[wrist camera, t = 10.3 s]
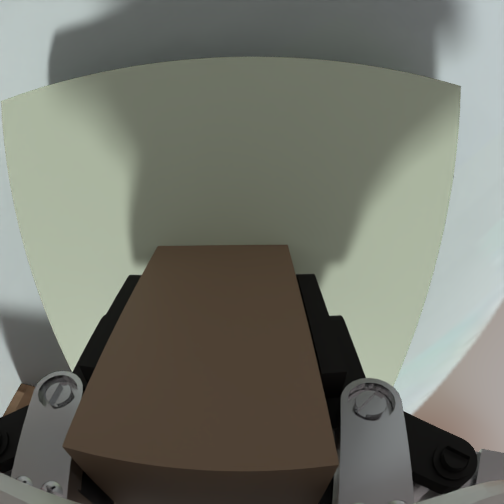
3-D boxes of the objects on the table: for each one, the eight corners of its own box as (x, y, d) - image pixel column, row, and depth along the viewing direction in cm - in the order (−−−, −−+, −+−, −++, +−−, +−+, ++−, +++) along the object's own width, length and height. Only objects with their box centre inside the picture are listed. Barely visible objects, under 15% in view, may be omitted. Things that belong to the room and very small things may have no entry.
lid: (21, 98, 8) (-169, 151, 1) (441, 85, 8) (652, 123, 1) (99, 395, 15) (56, 522, 8) (375, 395, 15) (416, 529, 8)
